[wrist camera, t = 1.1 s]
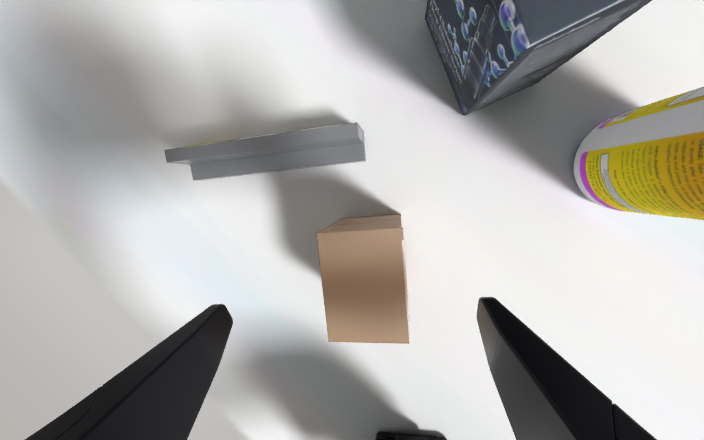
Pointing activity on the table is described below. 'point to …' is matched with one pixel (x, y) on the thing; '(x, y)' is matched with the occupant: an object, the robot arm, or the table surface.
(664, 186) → the supplement bottle
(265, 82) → the table surface
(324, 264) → the tea box
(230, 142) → the rail
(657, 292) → the table surface
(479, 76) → the box
